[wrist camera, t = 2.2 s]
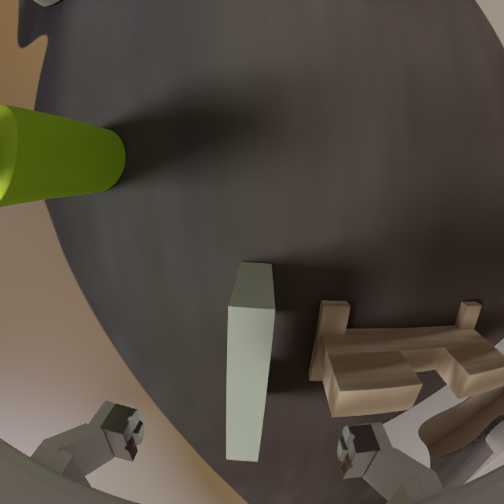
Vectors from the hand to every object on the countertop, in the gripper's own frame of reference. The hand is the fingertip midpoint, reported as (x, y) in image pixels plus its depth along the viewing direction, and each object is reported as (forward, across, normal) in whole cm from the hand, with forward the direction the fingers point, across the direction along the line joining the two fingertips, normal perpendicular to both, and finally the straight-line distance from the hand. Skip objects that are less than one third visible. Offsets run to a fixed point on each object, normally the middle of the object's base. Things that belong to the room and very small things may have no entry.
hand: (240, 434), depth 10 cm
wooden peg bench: (+16, -15, +4) cm, 22 cm away
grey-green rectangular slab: (+16, 0, +4) cm, 16 cm away
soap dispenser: (+16, +15, -11) cm, 24 cm away
